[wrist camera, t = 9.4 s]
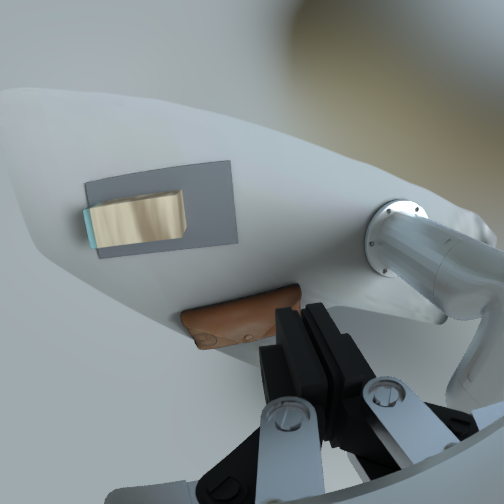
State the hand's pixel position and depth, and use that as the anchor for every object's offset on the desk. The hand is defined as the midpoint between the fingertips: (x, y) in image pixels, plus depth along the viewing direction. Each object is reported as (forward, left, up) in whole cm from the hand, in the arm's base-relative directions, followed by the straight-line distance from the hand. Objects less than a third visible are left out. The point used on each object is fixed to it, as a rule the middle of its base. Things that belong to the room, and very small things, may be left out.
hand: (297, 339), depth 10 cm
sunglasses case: (+1, +18, -31) cm, 36 cm away
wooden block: (+7, 0, -27) cm, 28 cm away
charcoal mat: (+11, 0, -30) cm, 32 cm away
